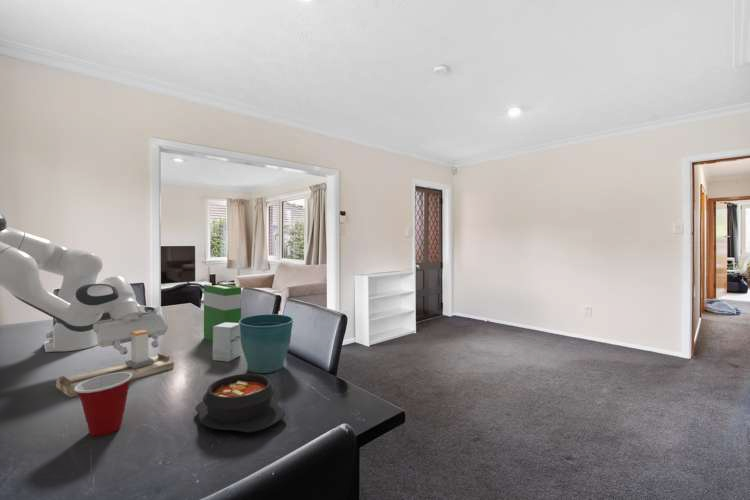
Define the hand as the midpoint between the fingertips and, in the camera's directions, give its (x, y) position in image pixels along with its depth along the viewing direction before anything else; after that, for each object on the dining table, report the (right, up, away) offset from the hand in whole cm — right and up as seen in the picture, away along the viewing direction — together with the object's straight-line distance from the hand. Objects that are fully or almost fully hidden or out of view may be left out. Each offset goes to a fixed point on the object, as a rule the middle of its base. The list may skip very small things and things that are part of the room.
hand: (140, 349), depth 117 cm
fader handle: (-1, -5, 0) cm, 5 cm away
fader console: (-4, -7, -4) cm, 10 cm away
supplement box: (+22, -8, +15) cm, 28 cm away
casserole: (+44, -9, -28) cm, 53 cm away
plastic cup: (+15, -9, -35) cm, 39 cm away
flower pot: (+40, -8, +6) cm, 41 cm away
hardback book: (+11, -7, +37) cm, 40 cm away
